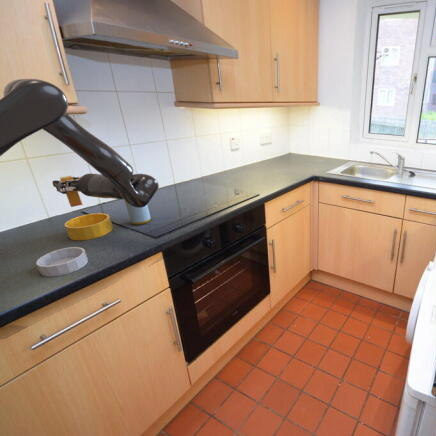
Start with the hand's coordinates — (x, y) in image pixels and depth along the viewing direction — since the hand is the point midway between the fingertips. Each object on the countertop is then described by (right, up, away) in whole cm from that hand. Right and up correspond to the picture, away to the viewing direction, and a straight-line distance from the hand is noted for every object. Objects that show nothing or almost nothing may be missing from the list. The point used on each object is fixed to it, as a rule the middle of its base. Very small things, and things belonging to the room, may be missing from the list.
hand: (62, 181), depth 100 cm
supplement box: (+3, -8, +3) cm, 9 cm away
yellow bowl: (+1, -18, +12) cm, 21 cm away
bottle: (+14, -14, +21) cm, 28 cm away
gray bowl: (+10, -27, -9) cm, 30 cm away
